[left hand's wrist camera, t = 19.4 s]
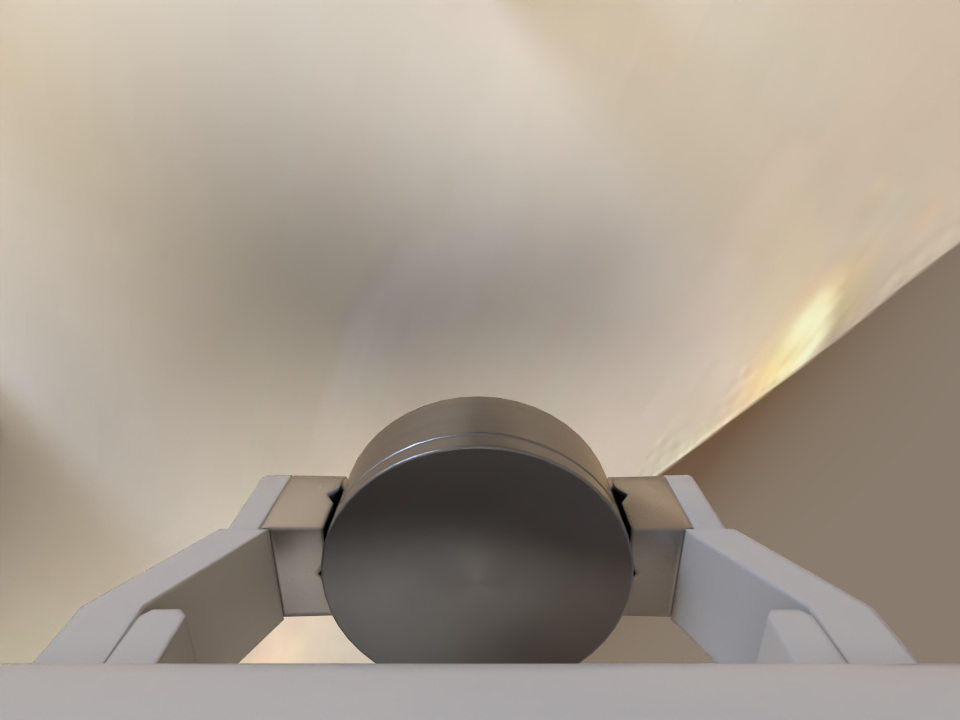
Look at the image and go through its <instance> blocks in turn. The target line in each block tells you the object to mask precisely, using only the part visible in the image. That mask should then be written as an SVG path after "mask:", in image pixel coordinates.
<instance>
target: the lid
mask: <svg viewBox="0 0 960 720" xmlns="http://www.w3.org/2000/svg"><path fill="white" fill-rule="evenodd" d="M633 575H634V561H633V552H632V547H631V544H630V540H629V536H628V533H627V530H626V528H625V525H624V522H623V520H622V517H621V515H620V512H619V509H618V507H617V504H616V501H615V499H614V496H613V493H612V491H611V488H610V485H609V483H608V480H607V477H606V475H605V473H604V471H603V468H602V466H601V464H600V462H599V460H598V459H597V457H596V456H595V454H594V453H593V451H592V450H591V448H590V447H589V446H588V445H587V444H586V442H585V441H584V440H583V439H582V438H581V437H580V436H579V435H578V434H577V433H576V432H575V431H573V430H572V429H571V428H570V427H569V426H567V425H566V424H565V423H563V422H562V421H560V420H558V419H557V418H555V417H554V416H552V415H550V414H548V413H546V412H544V411H542V410H540V409H537V408H535V407H533V406H529V405H526V404H523V403H520V402H517V401H512V400H507V399H502V398H494V397H460V398H454V399H448V400H442V401H439V402H435V403H432V404H429V405H425V406H423V407H420V408H418V409H416V410H414V411H411V412H409V413H407V414H405V415H403V416H402V417H400V418H398V419H397V420H395V421H394V422H392V423H391V424H389V425H388V426H387V427H386V428H384V429H383V430H382V431H381V432H379V433H378V434H377V435H376V436H375V437H374V438H373V439H372V441H371V442H370V443H369V444H368V445H367V446H366V447H365V449H364V450H363V452H362V453H361V455H360V456H359V457H358V459H357V461H356V463H355V465H354V467H353V469H352V471H351V473H350V476H349V478H348V481H347V484H346V486H345V489H344V491H343V494H342V496H341V499H340V502H339V504H338V507H337V509H336V512H335V514H334V517H333V520H332V522H331V525H330V527H329V530H328V533H327V536H326V539H325V542H324V546H323V551H322V559H321V580H322V585H323V590H324V595H325V598H326V601H327V604H328V606H329V609H330V612H331V614H332V615H333V617H334V619H335V621H336V623H337V624H338V626H339V627H340V629H341V630H342V631H343V633H344V634H345V635H346V637H347V638H348V639H349V640H350V641H351V642H352V643H353V644H354V645H355V646H356V647H357V648H358V649H359V650H360V651H361V652H362V653H363V654H364V655H366V656H367V657H368V658H369V659H371V660H372V661H373V662H375V663H376V664H579V663H580V662H582V661H583V660H584V659H586V658H587V657H588V656H590V655H591V654H592V653H593V652H594V651H595V650H596V649H597V648H598V647H599V646H601V644H603V643H604V642H605V640H606V639H607V638H608V637H609V635H610V634H611V633H612V632H613V630H614V629H615V628H616V626H617V624H618V622H619V621H620V619H621V617H622V616H623V614H624V611H625V609H626V606H627V604H628V601H629V598H630V594H631V589H632V585H633Z"/></svg>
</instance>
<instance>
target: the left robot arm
mask: <svg viewBox="0 0 960 720" xmlns="http://www.w3.org/2000/svg"><path fill="white" fill-rule="evenodd" d="M607 480H608V483H609V485H610V488H611V491H612V493H613V496H614V499H615V501H616V504H617V507H618V509H619V512H620V515H621V517H622V520H623V522H624V525H625V528H626V530H627V533H628V536H629V540H630V544H631V547H632V552H633V561H634V575H633V585H632V589H631V594H630V598H629V601H628V604H627V606H626V609H625V611H624V614H623V615H628V616H664V617H671V620H672V621H673V622H674V623H676V624H677V625H678V626H679V627H680V628H681V629H682V630H683V631H684V632H685V633H686V634H687V635H688V636H689V637H690V638H691V639H692V640H693V641H694V642H695V643H696V644H697V645H698V646H699V647H700V648H701V649H702V650H703V651H704V652H705V653H706V654H707V655H708V656H709V657H710V658H711V659H713V660H714V661H715V662H716V663H717V664H238V663H239V662H240V661H241V660H242V659H243V658H244V657H245V656H246V655H247V654H248V653H249V652H250V651H251V650H252V649H254V648H255V647H256V646H257V645H258V644H259V643H260V642H261V641H262V640H263V639H264V638H265V637H266V636H267V635H268V634H269V633H270V632H271V631H272V630H273V629H274V628H275V627H276V626H277V625H279V624H280V623H281V622H282V621H283V620H284V618H283V617H290V616H325V615H332V614H331V612H330V609H329V606H328V604H327V601H326V598H325V595H324V590H323V585H322V580H321V559H322V551H323V546H324V542H325V539H326V536H327V533H328V530H329V527H330V525H331V522H332V520H333V517H334V514H335V512H336V509H337V507H338V504H339V502H340V499H341V496H342V494H343V491H344V489H345V486H346V484H347V481H348V479H347V477H343V476H291V475H268V476H265V477H263V478H262V479H261V480H260V482H259V483H258V485H257V486H256V488H255V489H254V491H253V492H252V494H251V495H250V497H249V498H248V500H247V501H246V503H245V505H244V506H243V508H242V509H241V511H240V512H239V514H238V515H237V517H236V518H235V520H234V521H233V523H232V524H231V526H230V527H229V529H219V530H218V531H216V532H214V533H212V534H211V535H209V536H207V537H205V538H203V539H202V540H200V541H198V542H196V543H194V544H193V545H191V546H189V547H187V548H186V549H184V550H182V551H180V552H178V553H177V554H175V555H173V556H171V557H170V558H168V559H166V560H164V561H162V562H161V563H159V564H157V565H155V566H153V567H152V568H150V569H148V570H146V571H145V572H143V573H141V574H139V575H137V576H136V577H134V578H132V579H130V580H129V581H127V582H125V583H123V584H121V585H120V586H118V587H116V588H114V589H112V590H111V591H109V592H107V593H105V594H104V595H102V596H100V597H98V598H96V599H95V600H93V601H91V602H89V603H88V604H86V605H84V606H82V607H81V608H80V609H79V610H78V612H77V613H76V614H75V615H74V616H73V617H72V618H71V620H70V621H69V622H68V623H67V624H66V625H65V627H64V628H63V629H62V630H61V631H60V632H59V634H58V635H57V636H56V637H55V638H54V639H53V640H52V642H51V643H50V644H49V645H48V646H47V647H46V649H45V650H44V651H43V652H42V653H41V654H40V656H39V657H38V658H37V659H36V660H35V661H34V662H33V663H0V720H960V663H958V664H957V663H934V664H933V663H919V662H918V661H917V660H916V659H915V657H914V656H913V655H912V654H911V653H910V652H909V650H908V649H907V648H906V647H905V646H904V644H903V643H902V642H901V641H900V640H899V638H898V637H897V636H896V635H895V634H894V633H893V631H892V630H891V629H890V628H889V627H888V625H887V624H886V623H885V622H884V621H883V619H882V618H881V617H880V616H879V615H878V614H877V612H876V611H875V610H874V609H873V608H872V607H870V606H869V605H867V604H865V603H863V602H862V601H860V600H858V599H856V598H855V597H853V596H851V595H849V594H848V593H846V592H844V591H842V590H841V589H839V588H837V587H835V586H833V585H832V584H830V583H828V582H826V581H825V580H823V579H821V578H819V577H818V576H816V575H814V574H812V573H811V572H809V571H807V570H805V569H804V568H802V567H800V566H798V565H796V564H795V563H793V562H791V561H789V560H788V559H786V558H784V557H782V556H781V555H779V554H777V553H775V552H774V551H772V550H770V549H768V548H767V547H765V546H763V545H761V544H760V543H758V542H756V541H754V540H752V539H751V538H749V537H747V536H745V535H744V534H742V533H740V532H738V531H737V530H735V529H726V528H725V527H724V525H723V524H722V522H721V521H720V519H719V518H718V516H717V515H716V513H715V511H714V510H713V508H712V507H711V505H710V504H709V502H708V501H707V499H706V498H705V496H704V495H703V493H702V491H701V490H700V488H699V487H698V485H697V484H696V482H695V481H694V479H693V478H692V477H691V476H689V475H673V476H649V477H608V479H607Z"/></svg>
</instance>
